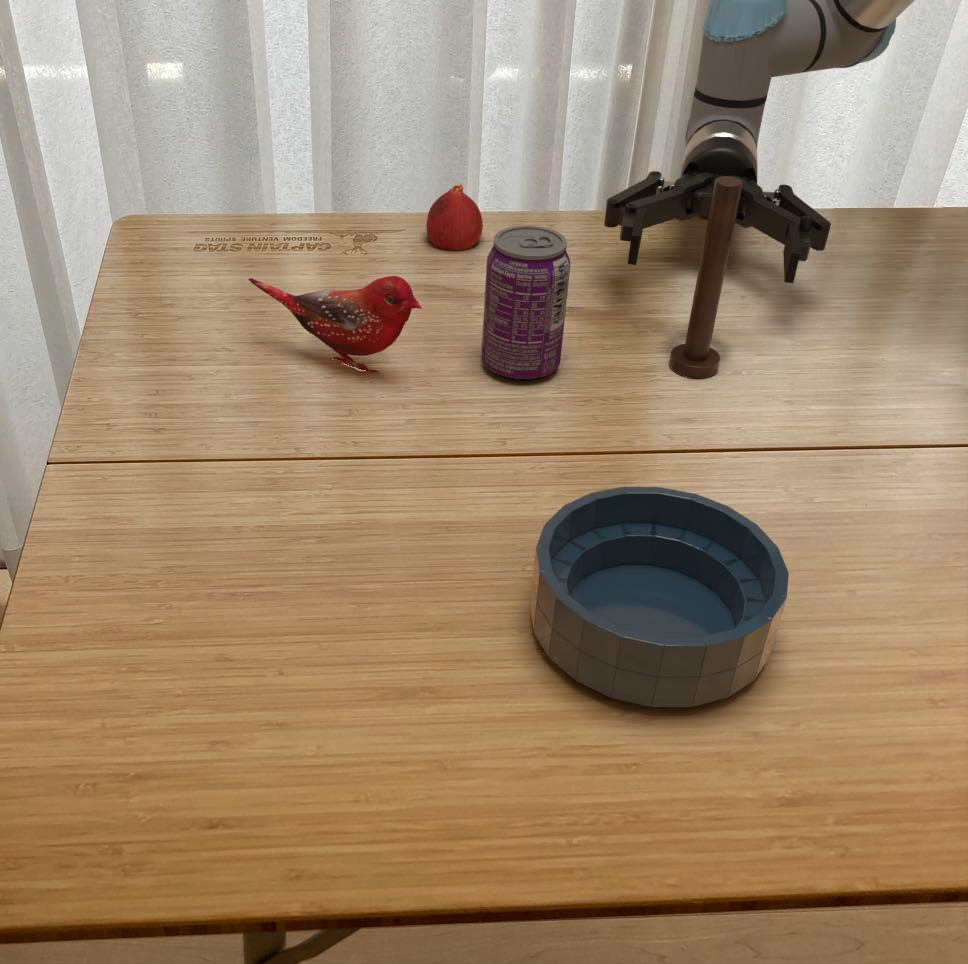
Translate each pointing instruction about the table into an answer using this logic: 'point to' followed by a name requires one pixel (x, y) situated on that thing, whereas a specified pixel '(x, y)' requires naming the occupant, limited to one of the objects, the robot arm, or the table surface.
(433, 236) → the red pomegranate
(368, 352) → the decorative bird figurine
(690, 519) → the bowl
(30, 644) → the table surface
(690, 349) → the stirring stick
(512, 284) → the beverage can
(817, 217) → the robot arm
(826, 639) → the table surface
